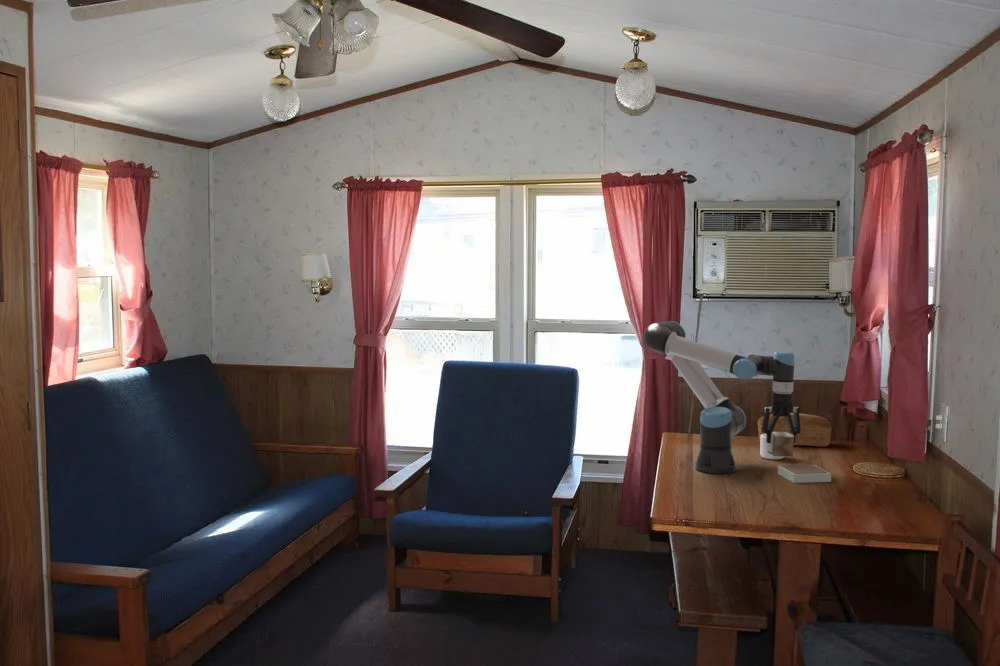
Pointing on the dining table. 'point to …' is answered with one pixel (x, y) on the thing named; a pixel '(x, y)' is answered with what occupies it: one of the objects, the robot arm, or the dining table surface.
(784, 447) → the block
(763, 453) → the mug
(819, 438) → the bread
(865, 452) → the dining table surface
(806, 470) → the base
